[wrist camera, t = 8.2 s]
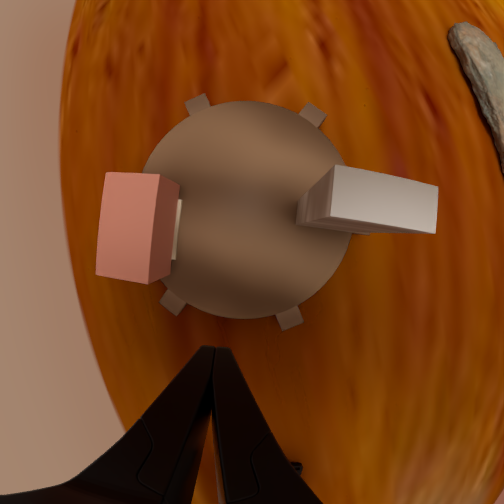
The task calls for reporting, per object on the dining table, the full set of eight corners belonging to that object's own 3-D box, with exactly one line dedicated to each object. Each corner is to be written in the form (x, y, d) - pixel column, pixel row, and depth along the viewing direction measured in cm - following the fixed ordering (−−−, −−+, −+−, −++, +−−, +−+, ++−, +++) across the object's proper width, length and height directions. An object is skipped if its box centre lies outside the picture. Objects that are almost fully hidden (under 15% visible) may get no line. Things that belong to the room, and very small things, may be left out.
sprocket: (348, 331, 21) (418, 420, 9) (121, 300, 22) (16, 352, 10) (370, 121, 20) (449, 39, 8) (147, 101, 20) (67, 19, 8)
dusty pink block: (180, 185, 19) (159, 174, 15) (170, 274, 19) (147, 284, 15) (133, 182, 19) (106, 172, 15) (124, 267, 20) (95, 274, 16)
